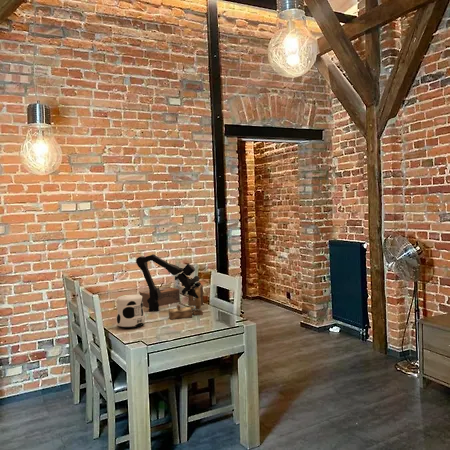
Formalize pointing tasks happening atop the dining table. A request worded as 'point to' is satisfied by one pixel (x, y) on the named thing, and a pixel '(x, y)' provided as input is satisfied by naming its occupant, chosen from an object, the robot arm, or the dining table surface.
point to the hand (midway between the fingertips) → (199, 297)
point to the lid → (180, 309)
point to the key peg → (198, 300)
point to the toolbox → (184, 314)
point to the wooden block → (192, 302)
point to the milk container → (130, 311)
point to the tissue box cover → (163, 296)
